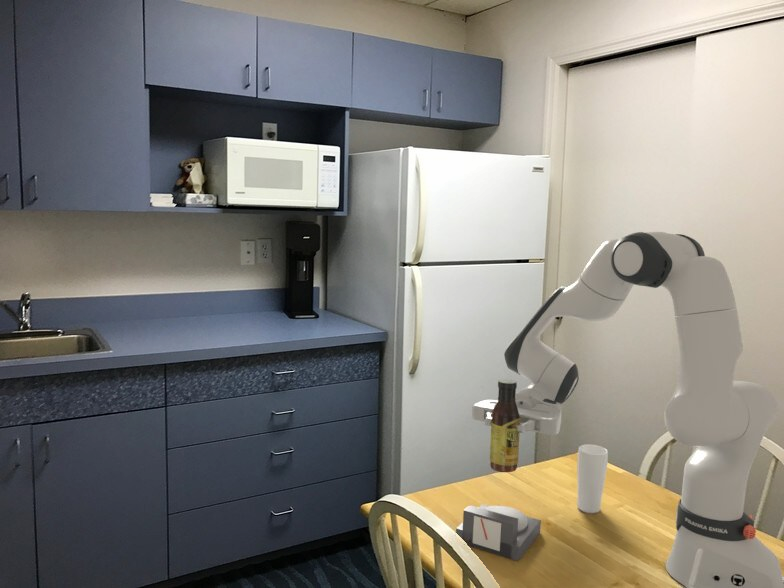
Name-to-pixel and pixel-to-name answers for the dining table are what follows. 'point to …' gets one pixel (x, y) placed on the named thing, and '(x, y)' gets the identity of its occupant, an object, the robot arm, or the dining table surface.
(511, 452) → the sauce bottle
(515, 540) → the kitchen scale
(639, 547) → the dining table surface
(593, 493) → the drinking glass
